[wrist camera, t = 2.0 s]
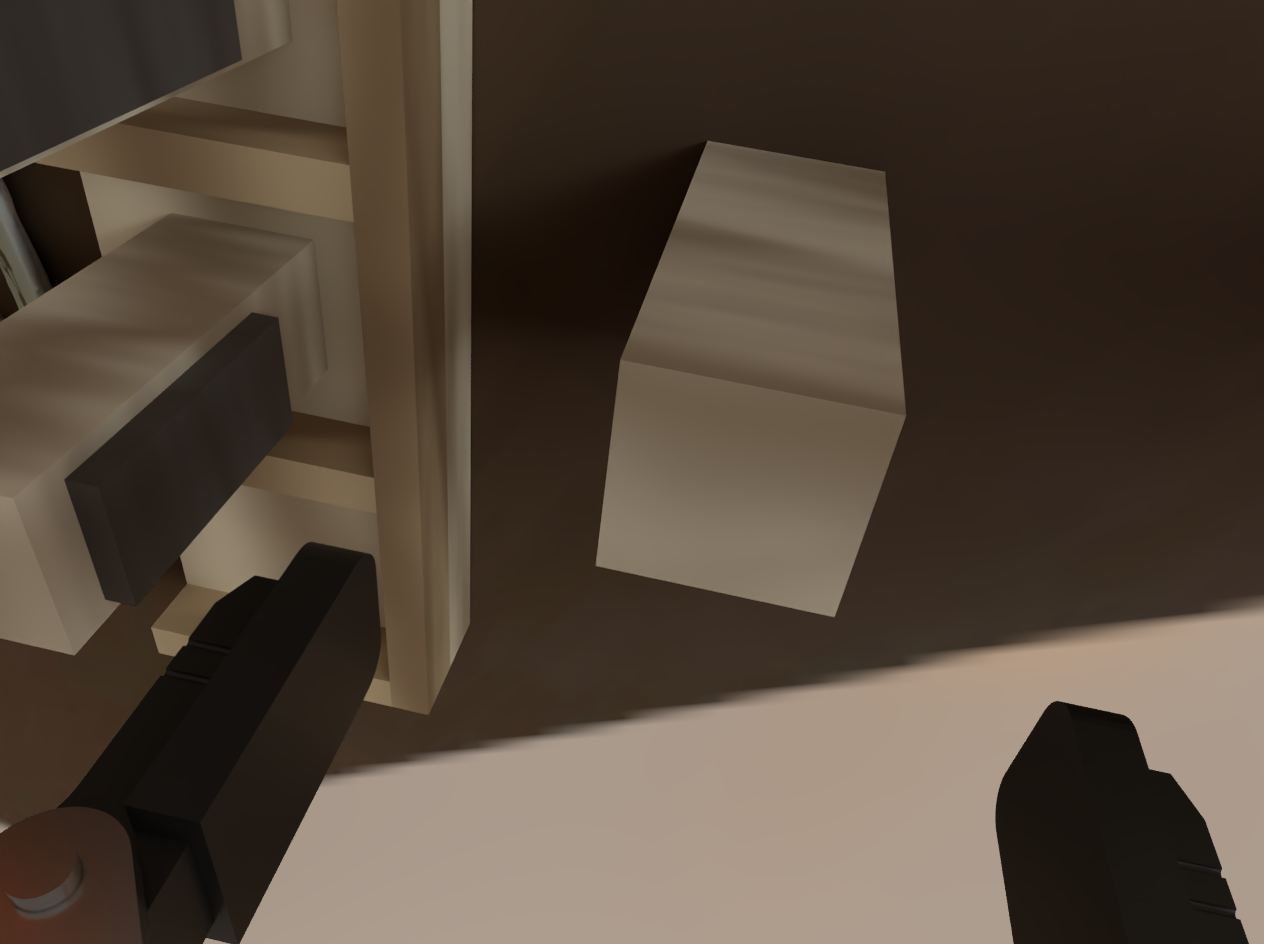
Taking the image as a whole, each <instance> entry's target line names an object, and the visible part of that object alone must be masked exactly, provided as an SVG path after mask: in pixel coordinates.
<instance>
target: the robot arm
mask: <svg viewBox="0 0 1264 944" xmlns="http://www.w3.org/2000/svg"><path fill="white" fill-rule="evenodd" d="M380 649H381V628H380V614H379V601H378V588H377V574H376V564H375V559H374V557H373V555H371V554H369V553H364V552H359V551H354V550H350V549H345V548H340V547H335V546H331V545H326V544H321V543H316V542H308V543H306V544H305V545H304V546H303V547H302V548H301V549H300V550H299V551H298V552H297V554H296V555H295V557H294V558H293V560H292V561H291V563H290V564H289V566H288V567H287V568H286V570H285V571H284V573H283V574H282V576H281V577H280V579H279V580H275V579H270V578H265V577H261V576H256V575H255V576H253V577H252V578H250V579H249V580H247V581H246V582H244V583H243V584H242V585H240V586H239V587H237V588H236V589H234V590H233V591H231V592H230V593H228V594H227V595H225V596H224V597H223V598H221V599H220V600H218V601H217V602H215V603H214V605H213V606H212V607H211V609H210V610H209V611H208V613H207V614H206V615H205V617H204V618H203V619H202V621H201V622H200V623H199V625H198V626H197V627H196V629H195V630H194V631H193V633H192V634H191V635H190V637H189V638H188V643H187V645H186V646H182V648H181V649H180V650H179V652H178V653H177V654H176V656H175V657H174V658H173V660H172V661H171V662H170V664H169V665H168V666H167V668H166V673H165V675H164V676H160V677H159V678H158V680H157V681H156V682H155V684H154V685H153V686H152V688H151V689H150V690H149V692H148V693H147V694H146V696H145V697H144V698H143V700H142V701H141V702H140V704H139V705H138V706H137V708H136V709H135V710H134V712H133V713H132V714H131V716H130V717H129V718H128V720H127V721H126V722H125V724H124V725H123V726H122V728H121V729H120V730H119V732H118V733H117V734H116V736H115V737H114V738H113V740H112V741H111V743H110V744H109V745H108V747H107V748H106V749H105V751H104V752H103V753H102V755H101V756H100V757H99V759H98V760H97V761H96V763H95V764H94V765H93V767H92V768H91V769H90V771H89V772H88V773H87V775H86V776H85V777H84V779H83V780H82V781H81V783H80V784H79V785H78V786H77V788H76V789H75V790H74V791H73V792H72V794H71V795H70V796H69V797H68V798H67V799H66V800H65V801H64V802H63V803H62V804H61V805H59V806H58V807H57V808H56V809H52V810H48V811H44V812H41V813H38V814H36V815H33V816H30V817H28V818H26V819H24V820H22V821H20V822H18V823H16V824H14V825H12V826H11V827H9V828H8V829H6V830H4V831H3V832H2V833H0V944H203V942H204V940H205V938H209V939H214V940H218V941H222V942H226V943H230V944H240V942H241V940H242V938H243V936H244V934H245V932H246V930H247V928H248V926H249V924H250V922H251V920H252V918H253V916H254V914H255V912H256V910H257V908H258V906H259V904H260V902H261V900H262V898H263V896H264V894H265V892H266V890H267V888H268V887H269V884H270V883H271V881H272V878H273V877H274V875H275V873H276V871H277V869H278V867H279V865H280V863H281V861H282V859H283V857H284V855H285V853H286V851H287V849H288V847H289V845H290V843H291V841H292V839H293V837H294V835H295V833H296V831H297V829H298V828H299V826H300V823H301V822H302V820H303V818H304V816H305V814H306V812H307V810H308V808H309V806H310V804H311V802H312V800H313V798H314V796H315V794H316V792H317V790H318V788H319V786H320V784H321V782H322V780H323V778H324V776H325V774H326V772H327V770H328V768H329V767H330V765H331V763H332V761H333V759H334V757H335V755H336V753H337V751H338V749H339V747H340V745H341V743H342V741H343V739H344V737H345V735H346V733H347V731H348V729H349V727H350V725H351V723H352V721H353V719H354V717H355V715H356V713H357V711H358V709H359V707H360V706H361V704H362V702H363V700H364V698H365V696H366V694H367V692H368V690H369V688H370V685H371V683H372V680H373V678H374V675H375V672H376V668H377V664H378V660H379V655H380ZM996 832H997V839H998V845H999V852H1000V858H1001V864H1002V871H1003V877H1004V884H1005V890H1006V896H1007V903H1008V910H1009V916H1010V923H1011V928H1012V936H1013V942H1014V944H1249V943H1248V940H1247V937H1246V935H1245V932H1244V929H1243V926H1242V923H1241V920H1239V919H1236V917H1235V911H1236V907H1235V903H1234V901H1233V898H1232V895H1231V892H1230V889H1229V887H1228V884H1227V881H1226V879H1225V878H1222V877H1221V870H1222V867H1221V864H1220V861H1219V859H1218V856H1217V853H1216V850H1215V847H1214V845H1213V842H1212V839H1211V836H1210V833H1209V831H1208V828H1207V825H1206V822H1205V820H1204V818H1203V817H1202V816H1201V815H1200V813H1199V812H1198V810H1197V809H1196V808H1195V806H1194V805H1193V804H1192V802H1191V801H1190V800H1189V798H1188V797H1187V795H1186V794H1185V793H1184V791H1183V790H1182V789H1181V787H1180V786H1179V785H1178V783H1177V782H1176V781H1175V779H1174V778H1173V777H1172V775H1171V774H1169V773H1164V772H1159V771H1155V770H1150V769H1149V768H1148V765H1147V762H1146V759H1145V756H1144V753H1143V749H1142V746H1141V743H1140V740H1139V737H1138V734H1137V731H1136V729H1135V726H1134V724H1133V723H1132V721H1131V720H1130V719H1129V718H1128V717H1126V716H1124V715H1121V714H1116V713H1111V712H1107V711H1102V710H1097V709H1093V708H1088V707H1083V706H1078V705H1074V704H1069V703H1064V702H1059V701H1056V702H1053V703H1051V704H1050V705H1049V706H1048V707H1047V708H1046V710H1045V711H1044V713H1043V714H1042V716H1041V717H1040V719H1039V721H1038V722H1037V724H1036V725H1035V727H1034V729H1033V730H1032V732H1031V733H1030V735H1029V736H1028V738H1027V740H1026V742H1025V743H1024V744H1023V746H1022V748H1021V749H1020V751H1019V752H1018V754H1017V756H1016V757H1015V759H1014V760H1013V762H1012V764H1011V765H1010V767H1009V769H1008V770H1007V772H1006V773H1005V775H1004V777H1003V779H1002V782H1001V784H1000V788H999V792H998V796H997V803H996Z"/></svg>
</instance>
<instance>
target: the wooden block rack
mask: <svg viewBox="0 0 1264 944" xmlns="http://www.w3.org/2000/svg"><path fill="white" fill-rule="evenodd" d="M32 163H39V164H44V165H50V166H55V167H60V168H66V169H71V170H76V171H80V174H81V178H82V182H83V186H84V190H85V194H86V197H87V201H88V205H89V209H90V213H91V217H92V220H93V224H94V228H95V232H96V236H97V240H98V243H99V247H100V251H101V255H102V257H101V258H100V259H98V260H97V261H95V262H93V263H92V264H90V265H89V266H87V267H86V268H84V269H82V270H81V271H79V272H78V273H76V274H75V275H73V276H72V277H70V278H68V279H67V280H65V281H64V282H62V283H61V284H59V285H57V286H56V287H54V288H53V289H51V290H50V291H48V292H46V293H45V294H43V295H42V296H40V297H39V298H37V299H36V300H34V301H32V302H31V303H29V304H28V305H26V306H25V307H23V308H21V309H20V310H18V311H17V312H15V313H14V314H12V315H10V316H9V317H7V318H6V319H4V320H3V321H1V322H0V638H2V639H6V640H10V641H15V642H19V643H23V644H28V645H32V646H36V647H41V648H45V649H49V650H53V651H58V652H62V653H66V654H71V655H75V654H76V653H77V652H78V651H79V650H80V649H81V648H82V646H83V645H84V644H85V643H86V642H87V641H88V640H89V639H90V637H91V636H92V635H93V634H94V633H95V632H96V631H97V630H98V628H99V627H100V626H101V625H102V624H103V623H104V622H105V620H106V619H107V618H108V617H109V616H110V615H111V614H112V613H113V611H114V610H115V609H116V608H117V607H118V606H119V605H120V604H121V603H122V604H126V605H131V606H135V607H136V606H137V605H138V604H139V603H140V602H141V601H142V599H143V598H144V597H145V596H146V595H147V594H148V592H149V591H150V590H151V589H152V588H153V587H154V585H155V584H156V583H157V582H158V581H159V580H160V579H161V577H162V576H163V575H164V574H165V573H166V572H167V570H168V569H169V568H170V567H171V566H172V565H173V563H174V562H175V561H176V560H177V559H178V558H179V556H180V558H181V561H182V565H183V569H184V573H185V577H186V581H187V584H186V586H185V587H184V588H183V589H182V591H181V592H180V593H179V594H178V595H177V597H176V598H175V599H174V600H173V601H172V603H171V604H170V605H169V606H168V608H167V609H166V610H165V611H164V612H163V614H162V615H161V616H160V617H159V618H158V620H157V621H156V622H155V623H154V625H153V626H152V627H151V629H152V632H153V635H154V638H155V642H156V645H157V648H158V651H159V653H162V654H166V655H170V656H176V654H177V653H178V652H179V650H180V649H181V648H182V646H186V645H187V643H188V638H189V637H190V635H191V634H192V633H193V631H194V630H195V629H196V627H197V626H198V625H199V623H200V622H201V621H202V619H203V618H204V617H205V615H206V614H207V613H208V611H209V610H210V609H211V607H212V606H213V605H214V603H215V602H217V601H218V600H220V599H221V598H223V597H224V596H225V595H227V594H228V593H230V592H231V591H233V590H234V589H236V588H237V587H239V586H240V585H242V584H243V583H244V582H246V581H247V580H249V579H250V578H252V577H253V576H255V575H256V576H261V577H265V578H270V579H275V580H279V579H280V577H281V576H282V574H283V573H284V571H285V570H286V568H287V567H288V566H289V564H290V563H291V561H292V560H293V558H294V557H295V555H296V554H297V552H298V551H299V550H300V549H301V548H302V547H303V546H304V545H305V544H306V543H308V542H316V543H321V544H326V545H331V546H335V547H340V548H345V549H350V550H354V551H359V552H364V553H369V554H371V555H373V557H374V559H375V564H376V574H377V588H378V601H379V614H380V628H381V649H380V655H379V660H378V664H377V668H376V672H375V675H374V678H373V680H372V683H371V685H370V688H369V690H368V692H367V694H366V696H365V698H364V700H365V701H370V702H374V703H378V704H383V705H387V706H391V707H396V708H400V709H404V710H409V711H413V712H417V713H422V714H426V715H429V713H430V711H431V708H432V706H433V704H434V702H435V700H436V697H437V695H438V693H439V691H440V688H441V686H442V684H443V682H444V680H445V677H446V675H447V673H448V671H449V668H450V666H451V664H452V662H453V660H454V657H455V655H456V653H457V651H458V648H459V646H460V644H461V642H462V640H463V637H464V635H465V633H466V631H467V629H468V626H469V624H470V476H471V217H472V0H0V178H2V177H4V176H6V175H8V174H10V173H12V172H15V171H17V170H19V169H21V168H23V167H25V166H27V165H30V164H32Z"/></svg>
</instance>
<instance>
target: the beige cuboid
mask: <svg viewBox="0 0 1264 944" xmlns="http://www.w3.org/2000/svg"><path fill="white" fill-rule="evenodd" d="M905 418H906V408H905V396H904V385H903V373H902V362H901V350H900V339H899V327H898V316H897V304H896V292H895V281H894V269H893V258H892V246H891V235H890V223H889V212H888V200H887V189H886V177H885V172H884V171H878V170H872V169H866V168H861V167H855V166H849V165H844V164H838V163H832V162H826V161H821V160H815V159H809V158H804V157H798V156H792V155H786V154H781V153H775V152H769V151H764V150H758V149H752V148H746V147H741V146H735V145H729V144H723V143H718V142H712V141H707V144H706V146H705V149H704V151H703V154H702V156H701V159H700V161H699V164H698V166H697V169H696V171H695V174H694V176H693V179H692V181H691V184H690V186H689V189H688V191H687V194H686V196H685V199H684V201H683V204H682V206H681V209H680V211H679V214H678V216H677V219H676V221H675V224H674V226H673V229H672V231H671V234H670V236H669V239H668V241H667V244H666V246H665V249H664V251H663V254H662V256H661V259H660V261H659V264H658V267H657V269H656V272H655V274H654V277H653V279H652V282H651V284H650V287H649V289H648V292H647V294H646V297H645V299H644V302H643V304H642V307H641V309H640V312H639V314H638V317H637V319H636V322H635V324H634V327H633V329H632V332H631V334H630V337H629V339H628V342H627V344H626V347H625V349H624V352H623V354H622V357H621V359H620V367H619V375H618V383H617V392H616V400H615V408H614V417H613V425H612V434H611V442H610V450H609V459H608V467H607V475H606V484H605V492H604V500H603V509H602V517H601V525H600V534H599V542H598V551H597V559H596V566H599V567H604V568H608V569H613V570H618V571H622V572H627V573H632V574H636V575H641V576H645V577H650V578H655V579H659V580H664V581H669V582H673V583H678V584H683V585H687V586H692V587H697V588H701V589H706V590H711V591H715V592H720V593H725V594H729V595H734V596H738V597H743V598H748V599H752V600H757V601H762V602H766V603H771V604H776V605H780V606H785V607H790V608H794V609H799V610H804V611H808V612H813V613H818V614H822V615H827V616H832V617H835V614H836V612H837V609H838V606H839V603H840V600H841V598H842V595H843V592H844V589H845V586H846V583H847V581H848V578H849V575H850V572H851V569H852V567H853V564H854V561H855V558H856V555H857V553H858V550H859V547H860V544H861V541H862V539H863V536H864V533H865V530H866V527H867V524H868V522H869V519H870V516H871V513H872V510H873V508H874V505H875V502H876V499H877V496H878V494H879V491H880V488H881V485H882V482H883V480H884V477H885V474H886V471H887V468H888V466H889V463H890V460H891V457H892V454H893V451H894V449H895V446H896V443H897V440H898V437H899V435H900V432H901V429H902V426H903V423H904V421H905Z"/></svg>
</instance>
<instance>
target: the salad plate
mask: <svg viewBox="0 0 1264 944" xmlns="http://www.w3.org/2000/svg"><path fill="white" fill-rule="evenodd" d="M0 267H1V269H2V272H3V274H4V276H5V278H6V281H7V284H8V286H9V288H10V290H11V292H12V294H13V296H14V299H15V301H16V303H17V306H18V308H19V310H20V309H21V308H23V307H25V306H26V305H28V304H29V303H31V302H32V301H34V300H36V299H37V298H39V297H40V296H42V295H43V294H45V293H46V292H48V291H50V290H51V289H53V288H52V285H51V283H50V280H49V278H48V276H47V274H46V272H45V270H44V268H43V265H42V263H41V261H40V259H39V257H38V255H37V253H36V251H35V249H34V247H33V245H32V243H31V241H30V239H29V237H28V235H27V234H26V232H25V230H24V228H23V226H22V224H21V222H20V220H19V218H18V215H17V213H16V210H15V207H14V203H13V200H12V197H11V195H10V192H9V190H8V188H7V186H6V184H5V182H4V180H3V179H2V178H0ZM3 320H4V318H3V317H2V316H1V314H0V322H1V321H3Z"/></svg>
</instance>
